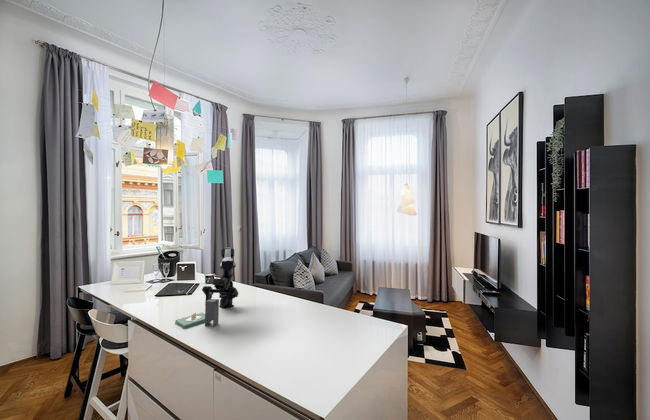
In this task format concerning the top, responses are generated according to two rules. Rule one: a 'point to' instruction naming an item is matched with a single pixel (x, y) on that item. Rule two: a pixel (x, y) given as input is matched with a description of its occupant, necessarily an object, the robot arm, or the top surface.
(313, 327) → the top surface
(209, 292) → the robot arm
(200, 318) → the board
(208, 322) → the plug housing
